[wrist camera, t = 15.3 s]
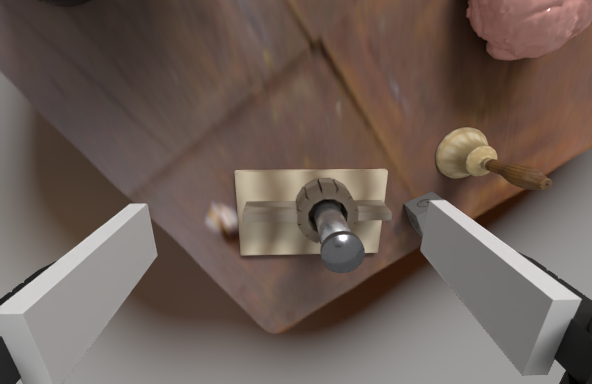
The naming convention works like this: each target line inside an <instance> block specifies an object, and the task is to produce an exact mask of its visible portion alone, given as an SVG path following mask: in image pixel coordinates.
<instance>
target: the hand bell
mask: <svg viewBox="0 0 592 384" xmlns="http://www.w3.org/2000/svg"><path fill="white" fill-rule="evenodd" d="M436 164H437V167H438V169H439V170H440V172H441V173H442V174H444V175H445V176H447V177H450V178H463V177H467V176H469V175H474V176H482V175H485V174H487V173H489V172H490V171H491V172H494V173H497V174H500V175H502V176H503V177H504V178H505V179H506V180H507V181H508V182H510V183H511V184H513V185H515V186H518V187H521V188H525V189H539V190H548V189H549V188H550V187H551V186H552V181H551V180H550V179H548V178H547V177H546V176H544V175H543V174H542V173H541V172H540V171H538V170H537V169H535V168H533V167H530V166H526V165H522V164H506V163H503V162H501V161H498V160H497V154H496V152H495V150H494V149H493V148H491V147H489V146H488V142H487V139H486V137H485V136H484V134H483V133H482V132H481V131H479V130H477V129H475V128H471V127H464V128H459V129H456V130H454V131H452V132H450V133H449V134H448V135H447V136H445V137H444V139H443V140H442V141H441V143H440V144H439V146H438V148H437V151H436Z"/></svg>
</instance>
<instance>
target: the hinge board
mask: <svg viewBox="0 0 592 384" xmlns="http://www.w3.org/2000/svg"><path fill="white" fill-rule="evenodd" d="M387 175H388V171H387V170H386V169H315V170H236V171H235V184H236V197H237V210H238V223H239V236H240V250H241V255H283V254H320V248H321V244H322V243H321V239H320V236H319V232H318V229H317V225H316V222H315V218H314V215H313V211H312V207H313V205H314V204H315V203H317V202H319V201H321V200H323V199H335V201H336V203H337V205H338V207H339V209H340V211H341V213H342V215H343V217H344V219H345V220H346V222H347V224H348V226H349V228H350V230H351V232H352V233H354V234H355V235H357V236H358V237H359V239H360V240H361V242H362V244H363V246H364V249H365V253H378V247H379V239H380V231H381V223H382V220H391V218H392V212H391V211H390V210H389V208H388V207H387V206H386V205H385V204H384V199H385V191H386V183H387Z"/></svg>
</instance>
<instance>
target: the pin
mask: <svg viewBox="0 0 592 384" xmlns="http://www.w3.org/2000/svg"><path fill="white" fill-rule="evenodd" d="M312 211H313V215H314V218H315V222H316V225H317V229H318V232H319V236H320V239H321V243H322V244H321V248H320V255H321V259H322V262H323V264H324V265H325V267H326V268H327V269H329V270H330V271H333V272H336V273H346V272H350V271H352V270H354V269H356V268H357V267H358V266H359V265H360V264H361V263H362V261H363V259H364V256H365V249H364V246H363V244H362V242H361V240H360V239H359V237H358V236H357V235H355V234H354V233H352V232H351V230H350V228H349V226H348V224H347V222H346V220H345V219H344V217H343V215H342V213H341V211H340V209H339V207H338V205H337V203H336V201H335V199H323V200H321V201H319V202H317V203H315V204H314V205H313V207H312Z"/></svg>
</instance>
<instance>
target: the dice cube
mask: <svg viewBox="0 0 592 384" xmlns="http://www.w3.org/2000/svg"><path fill="white" fill-rule="evenodd" d="M430 200H443V199H442V198H440V197H439V196H438V195H436V194H435V193H434V192H429V193H427V194H425V195H422V196H420V197H418V198H415V199H413V200H411V201H408V202H406V203H404V206H405V209H406V211H407V214H408V217H409V220H410V222H411V225H412V227H413V228H414V230H415V231H416V232H417V233H418V234H419V235H420V236H421V237H422V238H423V233H424V228H425V222H426V217H427V211H428V206H429V201H430Z"/></svg>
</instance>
